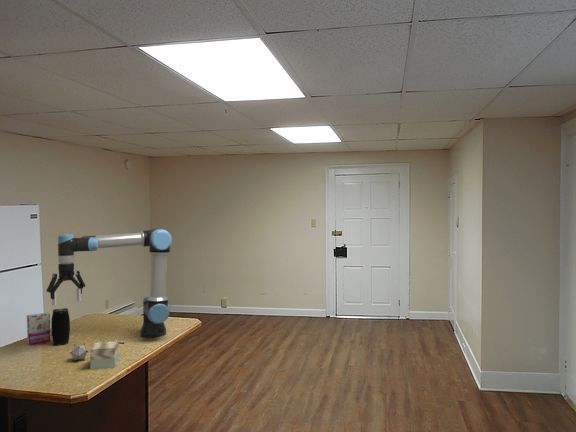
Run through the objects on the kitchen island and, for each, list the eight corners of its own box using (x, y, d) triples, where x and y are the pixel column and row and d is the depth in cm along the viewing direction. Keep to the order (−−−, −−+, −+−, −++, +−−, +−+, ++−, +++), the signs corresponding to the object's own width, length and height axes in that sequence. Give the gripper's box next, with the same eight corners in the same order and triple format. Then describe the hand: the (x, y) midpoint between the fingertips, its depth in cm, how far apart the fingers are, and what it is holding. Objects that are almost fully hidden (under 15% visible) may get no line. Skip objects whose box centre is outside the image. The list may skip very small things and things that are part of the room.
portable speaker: (48, 344, 254) (48, 310, 253) (64, 340, 261) (64, 307, 261) (57, 347, 249) (56, 312, 249) (73, 342, 257) (72, 308, 256)
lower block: (118, 360, 227) (118, 350, 227) (114, 368, 216) (114, 358, 216) (95, 362, 225) (95, 352, 225) (90, 370, 214) (90, 359, 214)
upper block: (118, 351, 227) (118, 341, 227) (114, 358, 216) (114, 347, 216) (95, 352, 225) (95, 342, 224) (90, 359, 214) (90, 349, 214)
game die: (80, 368, 226) (79, 356, 220) (66, 361, 228) (64, 349, 222) (93, 355, 233) (91, 343, 227) (79, 348, 235) (77, 336, 229)
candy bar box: (48, 339, 263) (48, 312, 262) (50, 341, 259) (50, 313, 259) (26, 343, 256) (26, 315, 255) (28, 345, 252) (28, 316, 251)
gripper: (83, 260, 252) (84, 298, 252) (38, 265, 231) (39, 306, 232) (91, 261, 248) (92, 299, 248) (46, 266, 227) (47, 307, 228)
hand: (66, 302), depth 240 cm, fingers open, 13 cm apart
